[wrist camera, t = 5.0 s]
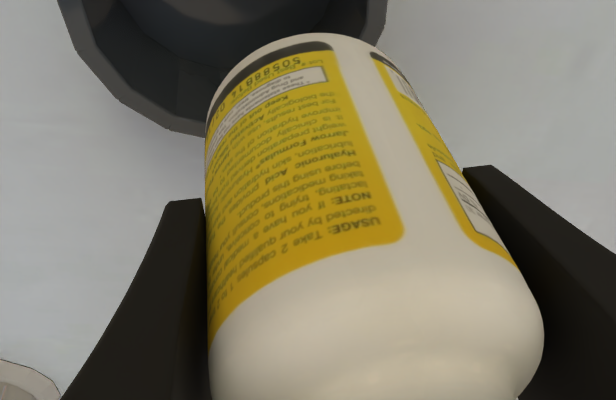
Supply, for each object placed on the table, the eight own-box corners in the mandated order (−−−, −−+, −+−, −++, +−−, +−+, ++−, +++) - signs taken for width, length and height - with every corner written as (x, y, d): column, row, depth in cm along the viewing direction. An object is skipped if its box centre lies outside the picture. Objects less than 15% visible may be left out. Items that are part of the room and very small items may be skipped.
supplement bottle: (188, 188, 14) (172, 669, 7) (229, -3, 10) (286, 565, 3) (363, 211, 15) (498, 611, 8) (447, 55, 12) (792, 505, 5)
